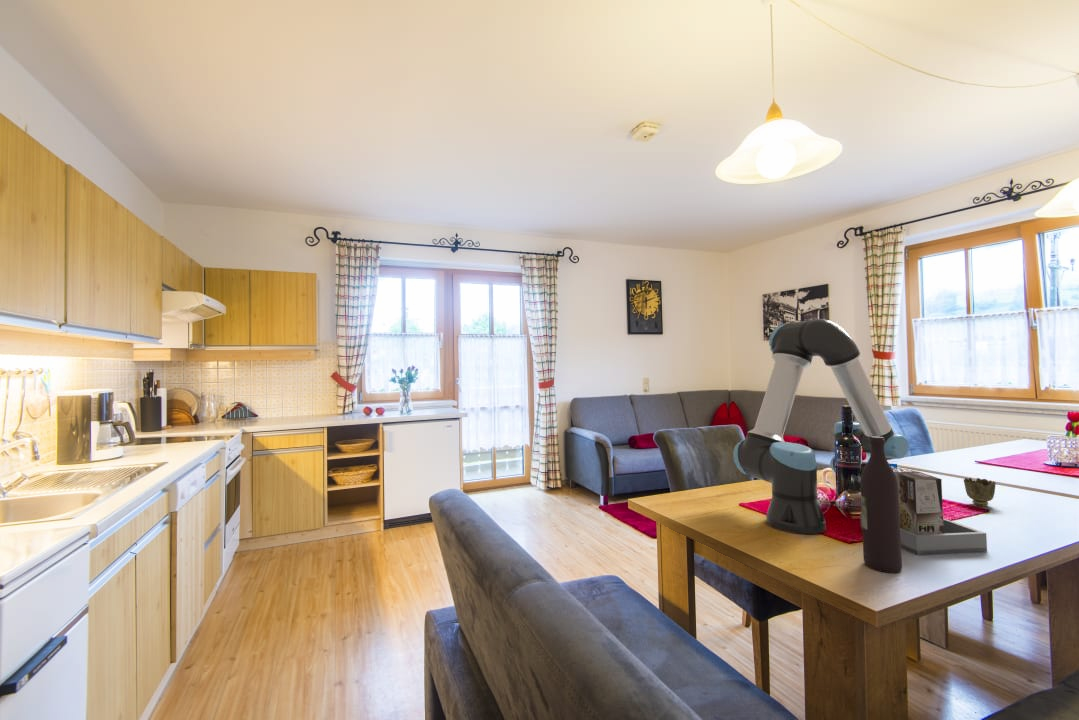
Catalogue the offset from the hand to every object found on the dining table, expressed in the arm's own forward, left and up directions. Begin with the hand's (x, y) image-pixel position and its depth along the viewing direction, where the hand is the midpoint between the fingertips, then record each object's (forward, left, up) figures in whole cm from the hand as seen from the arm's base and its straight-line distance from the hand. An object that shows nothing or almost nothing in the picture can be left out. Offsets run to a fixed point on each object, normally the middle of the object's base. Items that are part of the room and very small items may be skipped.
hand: (910, 493), depth 123 cm
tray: (-1, -4, -11) cm, 12 cm away
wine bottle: (-23, -18, -11) cm, 31 cm away
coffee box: (-1, -4, -10) cm, 11 cm away
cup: (+42, +20, -11) cm, 48 cm away
